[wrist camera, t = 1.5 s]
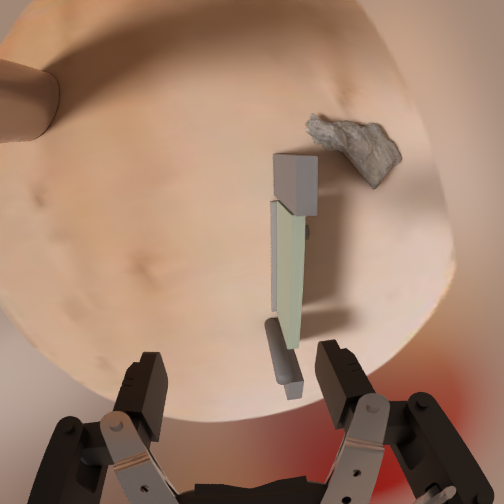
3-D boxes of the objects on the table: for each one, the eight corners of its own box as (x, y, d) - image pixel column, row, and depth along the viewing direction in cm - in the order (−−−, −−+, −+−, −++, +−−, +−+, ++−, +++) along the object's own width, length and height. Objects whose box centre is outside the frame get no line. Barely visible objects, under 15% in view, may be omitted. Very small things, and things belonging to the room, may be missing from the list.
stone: (326, 88, 26) (339, 79, 22) (402, 154, 28) (421, 156, 25) (295, 130, 27) (304, 127, 23) (375, 195, 30) (393, 201, 26)
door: (276, 313, 34) (287, 349, 27) (276, 200, 29) (291, 215, 22) (295, 311, 34) (309, 346, 27) (298, 199, 29) (319, 214, 22)
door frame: (264, 345, 36) (275, 401, 27) (260, 154, 27) (277, 155, 18) (288, 343, 36) (305, 397, 27) (291, 153, 28) (322, 156, 18)
